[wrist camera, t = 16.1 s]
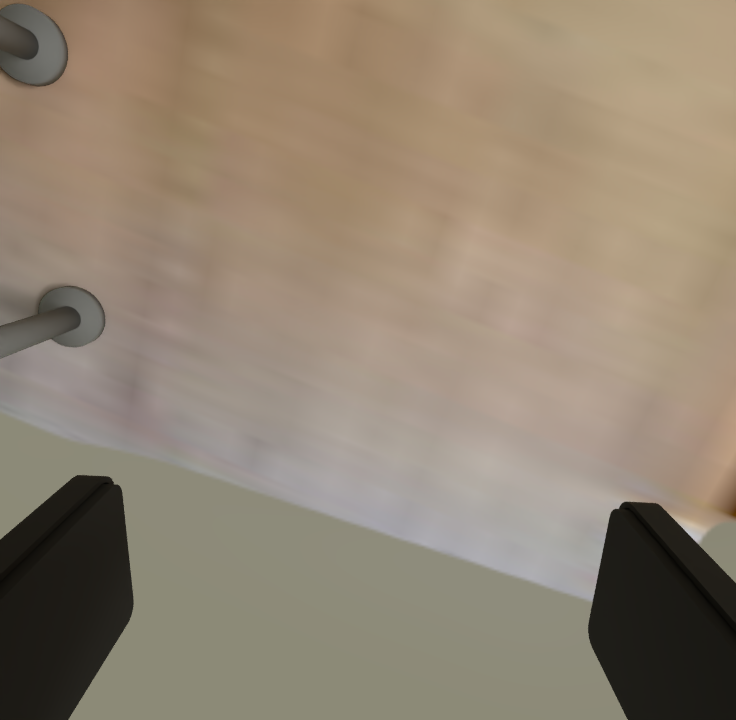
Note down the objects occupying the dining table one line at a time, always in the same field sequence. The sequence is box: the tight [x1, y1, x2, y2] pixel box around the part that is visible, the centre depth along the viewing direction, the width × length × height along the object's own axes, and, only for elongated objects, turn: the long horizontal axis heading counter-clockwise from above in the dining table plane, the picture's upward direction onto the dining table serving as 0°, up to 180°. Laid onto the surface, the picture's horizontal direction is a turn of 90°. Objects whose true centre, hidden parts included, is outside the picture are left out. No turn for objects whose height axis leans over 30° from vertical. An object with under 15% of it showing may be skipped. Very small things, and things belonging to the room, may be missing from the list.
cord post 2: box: [0, 286, 105, 358], centre depth 35 cm, size 5×5×15 cm
